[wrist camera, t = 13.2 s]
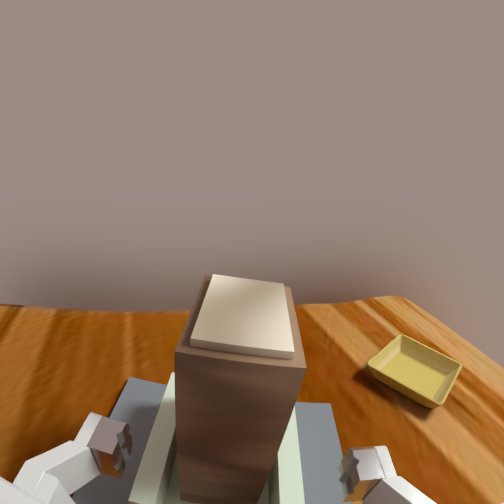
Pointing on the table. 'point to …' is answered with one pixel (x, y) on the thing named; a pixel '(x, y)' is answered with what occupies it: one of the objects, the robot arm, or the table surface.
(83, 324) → the table surface
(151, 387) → the mat
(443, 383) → the yellow square tray
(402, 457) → the table surface
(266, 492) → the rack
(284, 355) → the tall wooden pillar
